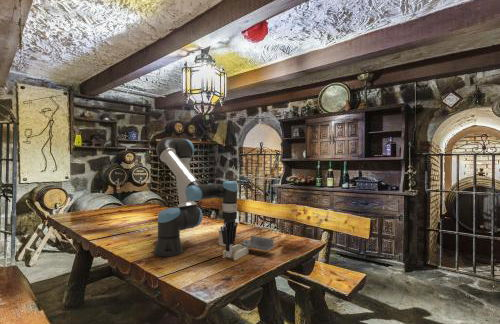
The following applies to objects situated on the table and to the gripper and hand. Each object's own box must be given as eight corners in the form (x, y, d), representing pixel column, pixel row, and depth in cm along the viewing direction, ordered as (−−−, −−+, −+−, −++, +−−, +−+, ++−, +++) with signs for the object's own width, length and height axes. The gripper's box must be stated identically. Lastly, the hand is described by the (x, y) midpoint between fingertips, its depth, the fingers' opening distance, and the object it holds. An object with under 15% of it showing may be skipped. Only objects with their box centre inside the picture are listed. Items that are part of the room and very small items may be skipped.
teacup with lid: (224, 247, 161) (225, 227, 161) (215, 244, 167) (215, 225, 167) (239, 243, 170) (240, 224, 169) (230, 240, 176) (230, 222, 176)
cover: (267, 250, 145) (267, 243, 145) (238, 245, 154) (238, 237, 154) (274, 246, 152) (274, 239, 152) (246, 241, 161) (246, 234, 161)
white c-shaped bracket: (223, 257, 145) (223, 250, 145) (240, 248, 160) (240, 242, 160) (235, 260, 141) (235, 253, 141) (251, 251, 156) (251, 244, 156)
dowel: (231, 260, 143) (235, 257, 141) (227, 255, 144) (231, 252, 142) (240, 255, 150) (244, 252, 149) (237, 250, 151) (241, 247, 150)
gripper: (228, 214, 135) (227, 262, 135) (242, 210, 146) (241, 254, 146) (216, 212, 139) (215, 259, 139) (230, 208, 150) (229, 251, 150)
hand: (228, 256), depth 143 cm, fingers closed
